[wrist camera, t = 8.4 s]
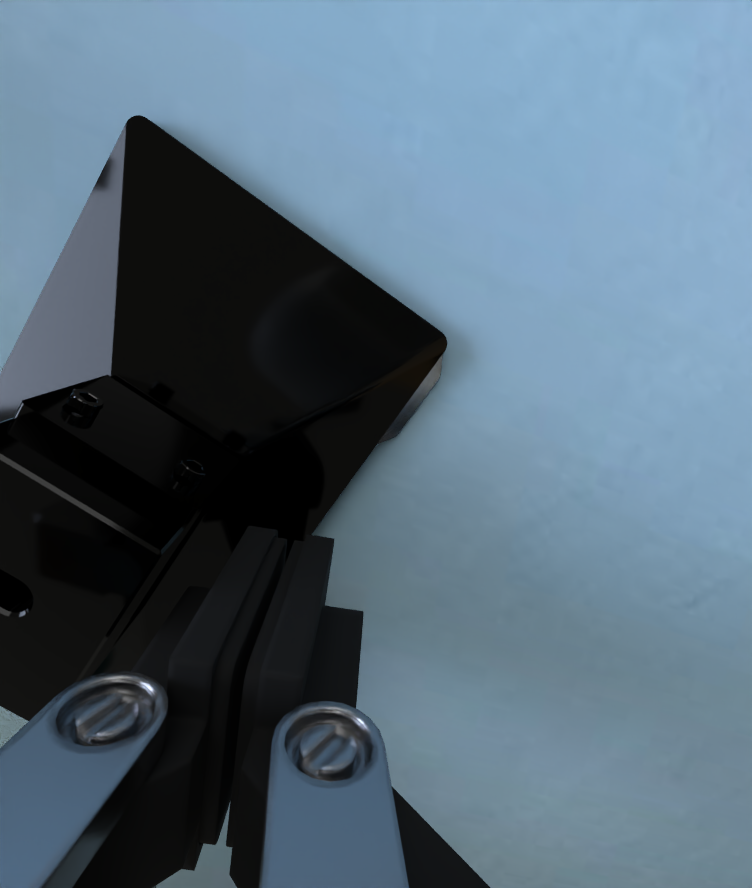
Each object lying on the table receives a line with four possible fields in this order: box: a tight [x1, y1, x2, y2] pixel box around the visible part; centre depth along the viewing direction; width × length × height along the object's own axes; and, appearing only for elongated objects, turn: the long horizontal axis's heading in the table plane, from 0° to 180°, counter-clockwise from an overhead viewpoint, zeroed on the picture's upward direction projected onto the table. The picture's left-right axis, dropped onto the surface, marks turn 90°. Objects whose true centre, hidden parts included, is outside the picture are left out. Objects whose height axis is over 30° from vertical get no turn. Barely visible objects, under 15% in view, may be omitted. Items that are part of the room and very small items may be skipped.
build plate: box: [0, 116, 447, 721], centre depth 10 cm, size 12×7×5 cm, turn 145°
